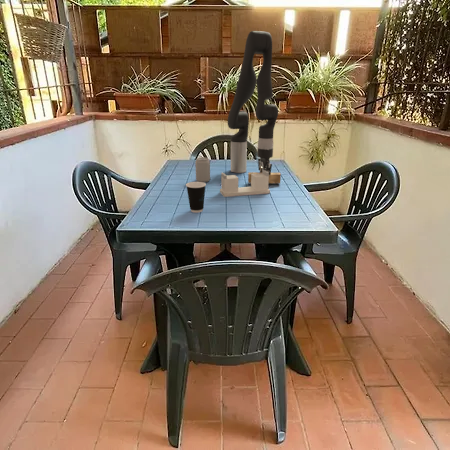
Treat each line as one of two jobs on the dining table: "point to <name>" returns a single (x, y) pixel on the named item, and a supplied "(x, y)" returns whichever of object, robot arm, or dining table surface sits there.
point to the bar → (272, 177)
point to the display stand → (231, 187)
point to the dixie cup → (196, 196)
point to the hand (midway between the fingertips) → (263, 180)
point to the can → (202, 169)
